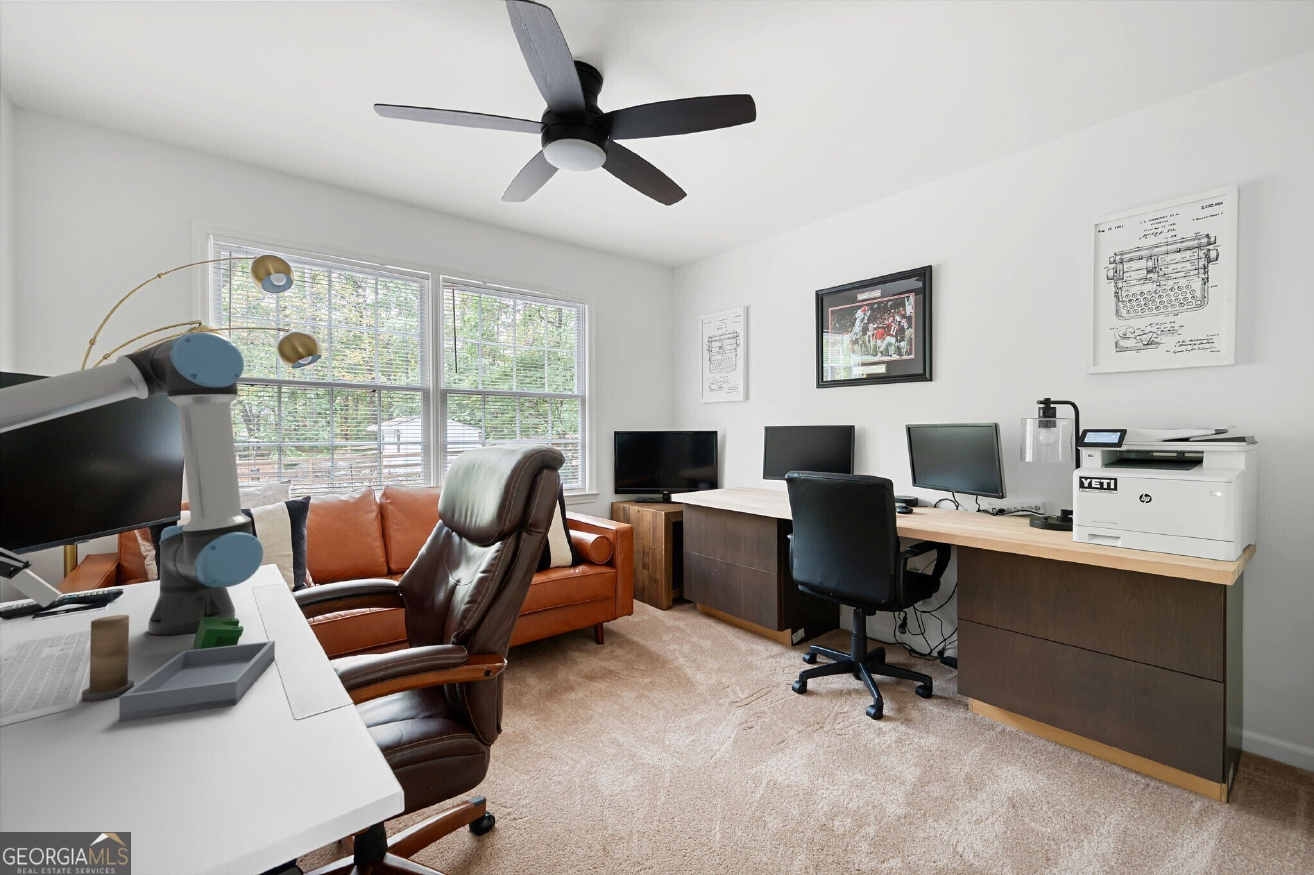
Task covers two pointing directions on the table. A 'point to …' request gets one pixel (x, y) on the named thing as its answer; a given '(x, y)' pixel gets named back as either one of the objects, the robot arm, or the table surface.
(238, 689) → the tray
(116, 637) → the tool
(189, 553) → the robot arm
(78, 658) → the table surface
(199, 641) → the clamp
